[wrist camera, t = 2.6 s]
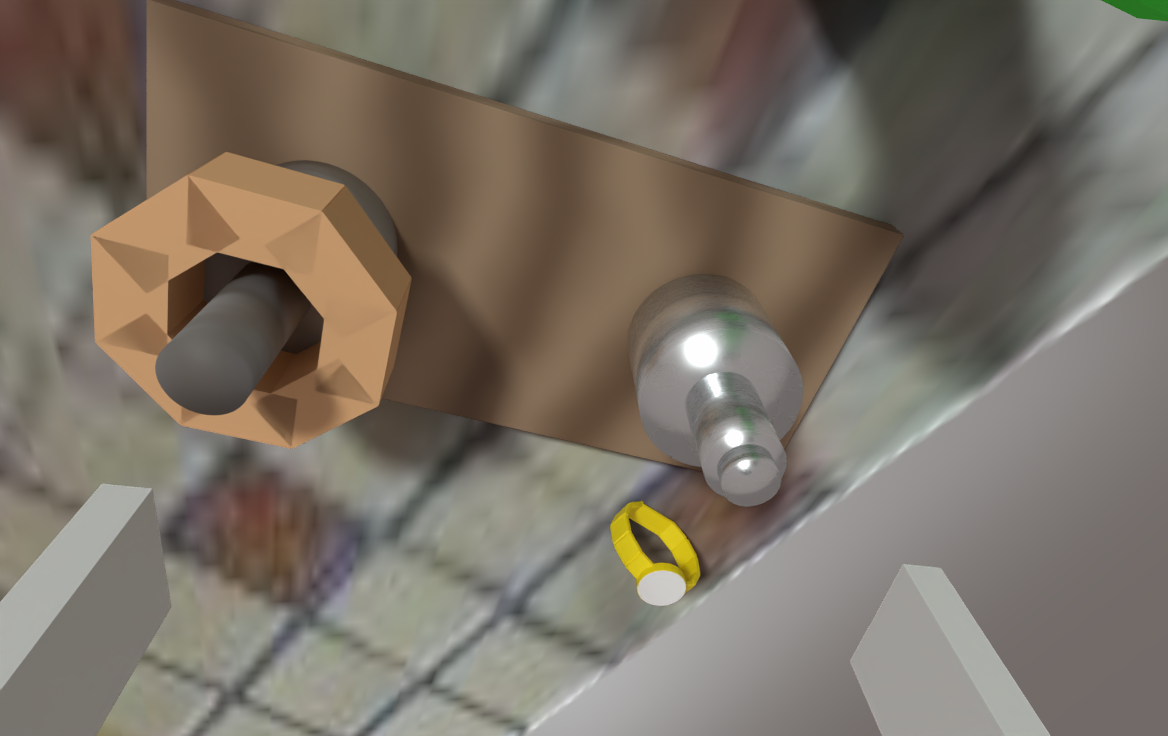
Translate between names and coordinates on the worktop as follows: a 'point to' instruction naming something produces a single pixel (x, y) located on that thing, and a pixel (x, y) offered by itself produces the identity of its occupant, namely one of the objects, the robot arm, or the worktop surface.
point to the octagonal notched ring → (272, 237)
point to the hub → (715, 383)
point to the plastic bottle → (1143, 8)
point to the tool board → (480, 235)
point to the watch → (652, 579)
